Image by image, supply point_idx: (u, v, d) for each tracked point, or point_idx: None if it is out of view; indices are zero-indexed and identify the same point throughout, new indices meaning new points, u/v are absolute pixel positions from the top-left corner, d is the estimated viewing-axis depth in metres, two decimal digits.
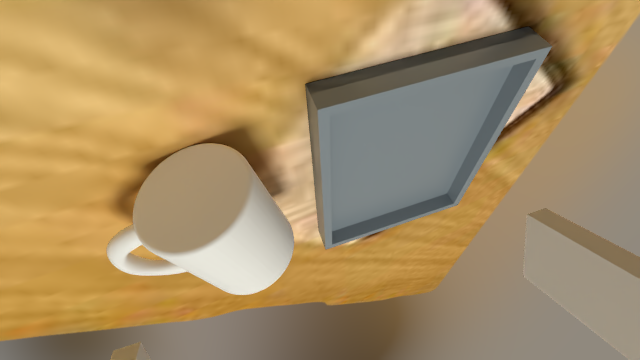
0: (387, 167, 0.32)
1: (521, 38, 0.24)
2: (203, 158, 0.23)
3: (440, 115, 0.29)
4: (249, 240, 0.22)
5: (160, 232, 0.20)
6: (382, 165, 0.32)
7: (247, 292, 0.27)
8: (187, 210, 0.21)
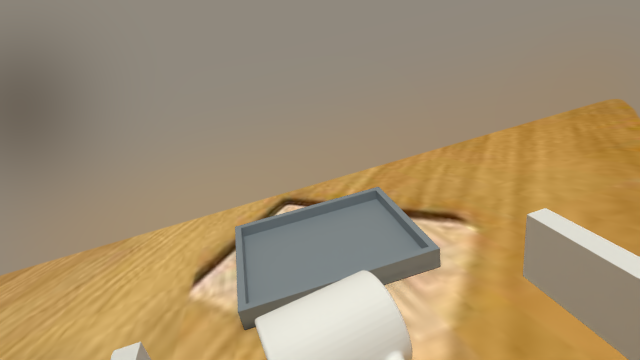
0: (330, 252, 0.43)
1: None
2: None
3: (283, 246, 0.45)
4: (282, 307, 0.27)
5: None
6: (326, 256, 0.42)
7: (375, 288, 0.26)
8: None
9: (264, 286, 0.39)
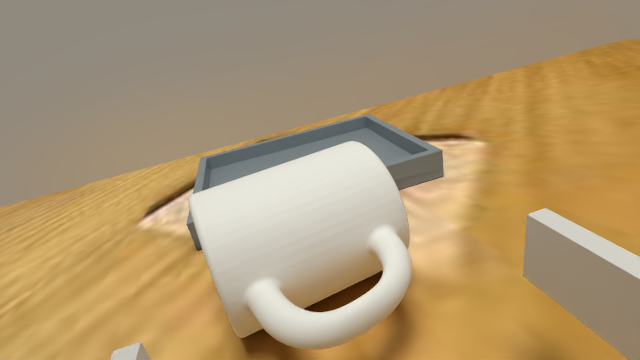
0: None
1: None
2: None
3: (255, 172, 0.38)
4: None
5: None
6: None
7: (357, 150, 0.19)
8: None
9: None
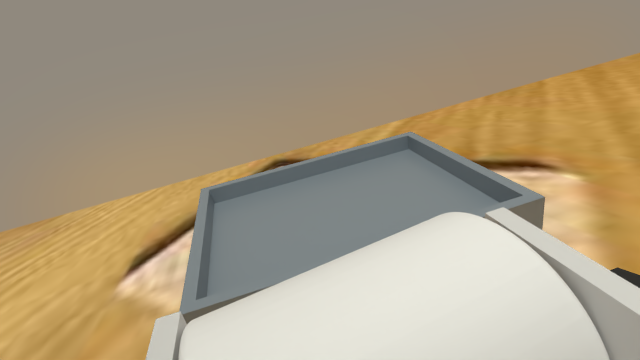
0: (347, 216, 0.26)
1: None
2: None
3: (272, 212, 0.29)
4: None
5: None
6: (341, 222, 0.26)
7: (499, 243, 0.10)
8: None
9: (237, 271, 0.23)
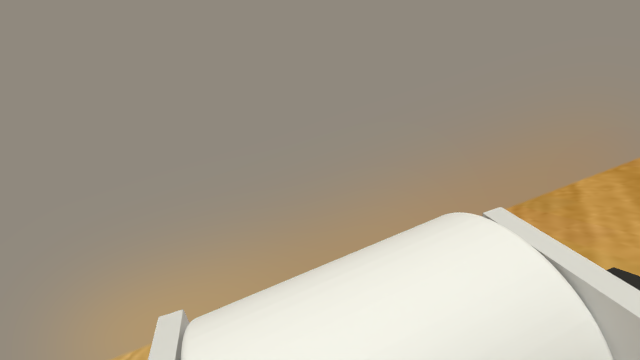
0: None
1: None
2: None
3: None
4: (259, 292, 0.11)
5: None
6: None
7: (503, 244, 0.10)
8: None
9: None
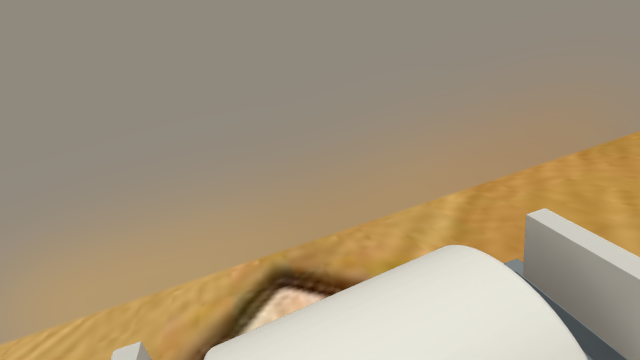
0: None
1: None
2: None
3: None
4: (271, 323, 0.12)
5: None
6: None
7: (503, 284, 0.11)
8: None
9: None
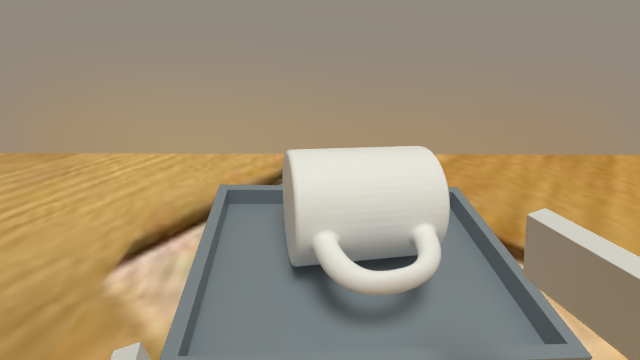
0: None
1: None
2: (285, 224, 0.26)
3: (285, 242, 0.27)
4: None
5: (292, 203, 0.21)
6: None
7: (427, 157, 0.23)
8: (288, 197, 0.23)
9: (230, 314, 0.21)
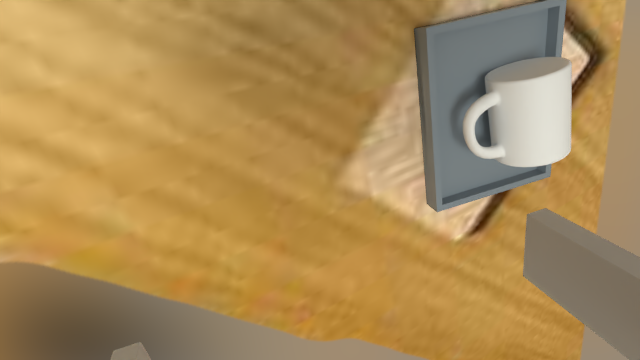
0: None
1: None
2: (518, 63, 0.39)
3: (507, 63, 0.41)
4: (570, 86, 0.35)
5: (520, 77, 0.35)
6: None
7: (551, 158, 0.37)
8: (530, 70, 0.36)
9: (456, 46, 0.38)
